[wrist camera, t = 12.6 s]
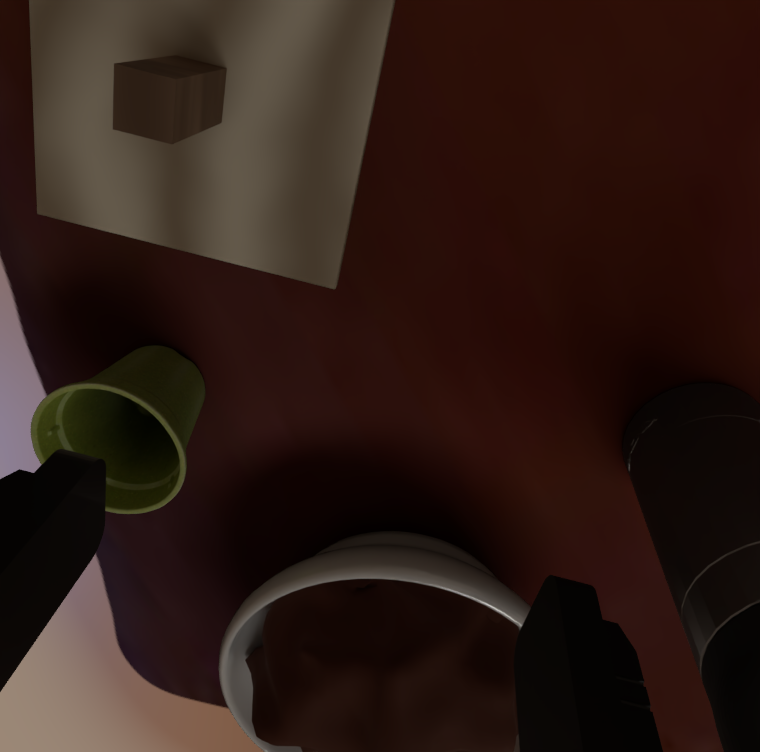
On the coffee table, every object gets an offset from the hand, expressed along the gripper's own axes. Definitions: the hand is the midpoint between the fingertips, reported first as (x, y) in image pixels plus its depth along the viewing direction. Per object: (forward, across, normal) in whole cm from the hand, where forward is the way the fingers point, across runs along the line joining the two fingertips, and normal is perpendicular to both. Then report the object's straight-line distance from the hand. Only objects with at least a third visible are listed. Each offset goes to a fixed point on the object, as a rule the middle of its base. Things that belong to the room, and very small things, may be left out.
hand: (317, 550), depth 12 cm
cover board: (+24, +11, -3) cm, 27 cm away
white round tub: (+30, -7, +33) cm, 45 cm away
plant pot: (+30, +14, +18) cm, 38 cm away
